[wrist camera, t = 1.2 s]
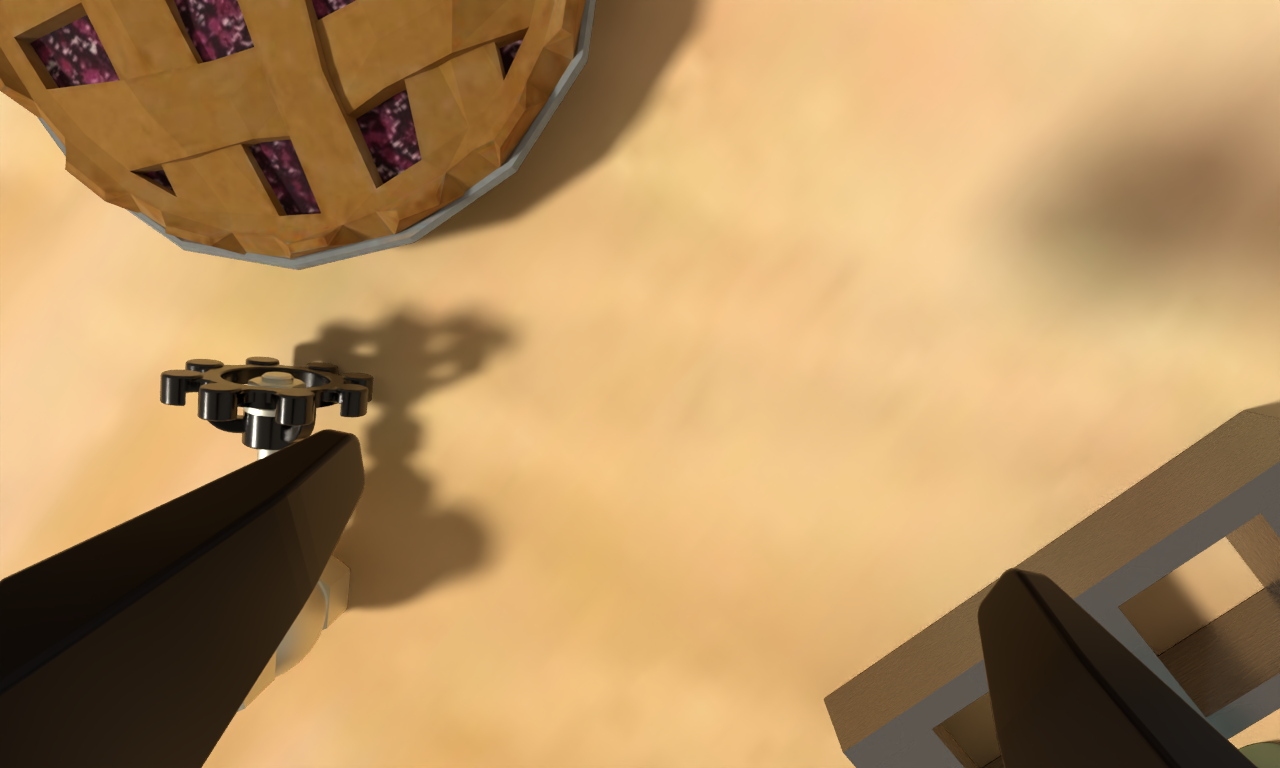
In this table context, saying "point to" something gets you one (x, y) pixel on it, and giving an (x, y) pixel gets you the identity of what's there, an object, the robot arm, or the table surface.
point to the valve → (270, 423)
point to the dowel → (1263, 754)
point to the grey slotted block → (1107, 606)
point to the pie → (293, 111)
